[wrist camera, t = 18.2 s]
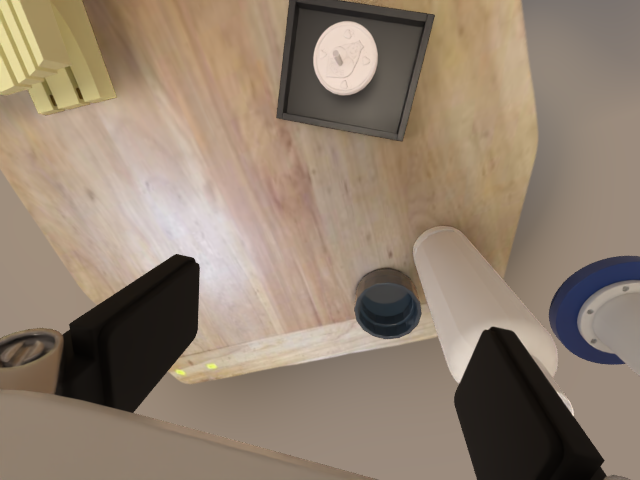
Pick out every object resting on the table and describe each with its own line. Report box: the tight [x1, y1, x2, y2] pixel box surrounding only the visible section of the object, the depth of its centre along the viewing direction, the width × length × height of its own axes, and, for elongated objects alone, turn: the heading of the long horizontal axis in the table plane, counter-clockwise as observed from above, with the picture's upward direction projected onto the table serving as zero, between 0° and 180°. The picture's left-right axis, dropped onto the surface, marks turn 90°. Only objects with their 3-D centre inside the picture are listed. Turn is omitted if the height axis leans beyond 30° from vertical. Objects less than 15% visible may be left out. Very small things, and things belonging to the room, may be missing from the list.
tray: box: [276, 0, 435, 141], centre depth 39 cm, size 17×14×2 cm
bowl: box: [354, 269, 422, 339], centre depth 47 cm, size 9×9×5 cm
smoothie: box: [313, 21, 378, 95], centre depth 33 cm, size 6×6×14 cm
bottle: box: [413, 226, 574, 416], centre depth 33 cm, size 8×8×28 cm
